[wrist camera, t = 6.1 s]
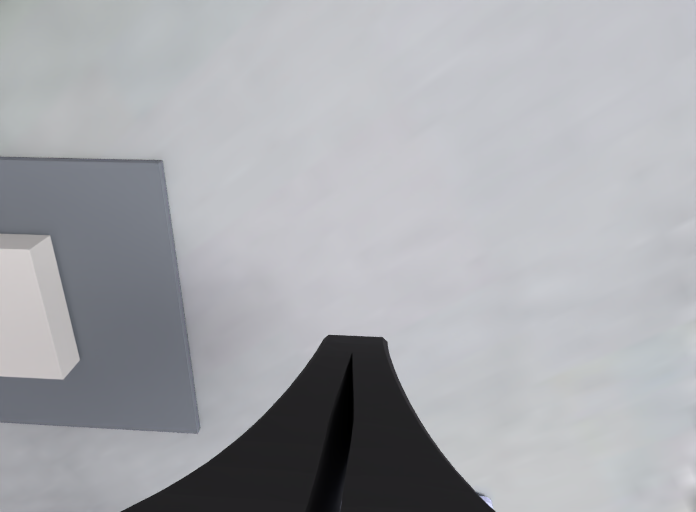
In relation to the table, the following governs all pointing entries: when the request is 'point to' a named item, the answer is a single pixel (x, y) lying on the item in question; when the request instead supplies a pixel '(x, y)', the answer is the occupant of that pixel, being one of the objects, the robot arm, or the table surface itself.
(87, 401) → the mat
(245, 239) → the table surface
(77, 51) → the table surface
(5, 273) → the tile
